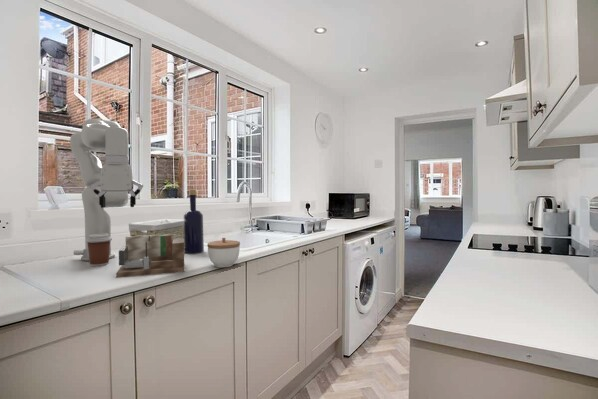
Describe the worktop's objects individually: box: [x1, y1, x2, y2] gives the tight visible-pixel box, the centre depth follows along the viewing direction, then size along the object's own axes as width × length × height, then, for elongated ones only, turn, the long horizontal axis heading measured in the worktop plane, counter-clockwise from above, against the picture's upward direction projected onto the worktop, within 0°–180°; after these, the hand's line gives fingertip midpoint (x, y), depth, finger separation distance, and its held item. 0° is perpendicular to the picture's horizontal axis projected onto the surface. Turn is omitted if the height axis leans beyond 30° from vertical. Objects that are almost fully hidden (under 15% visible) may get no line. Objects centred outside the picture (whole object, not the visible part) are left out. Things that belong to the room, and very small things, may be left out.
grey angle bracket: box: [118, 245, 144, 269], centre depth 117 cm, size 8×11×7 cm
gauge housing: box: [115, 234, 185, 278], centre depth 120 cm, size 22×15×12 cm
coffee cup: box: [84, 234, 113, 267], centre depth 129 cm, size 9×9×12 cm
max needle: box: [144, 242, 149, 269], centre depth 114 cm, size 2×1×10 cm
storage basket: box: [128, 218, 184, 238], centre depth 158 cm, size 24×16×15 cm
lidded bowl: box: [207, 237, 241, 268], centre depth 127 cm, size 13×13×11 cm
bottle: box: [183, 189, 205, 255], centre depth 154 cm, size 9×9×30 cm
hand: (117, 207), depth 119 cm, fingers open, 9 cm apart
